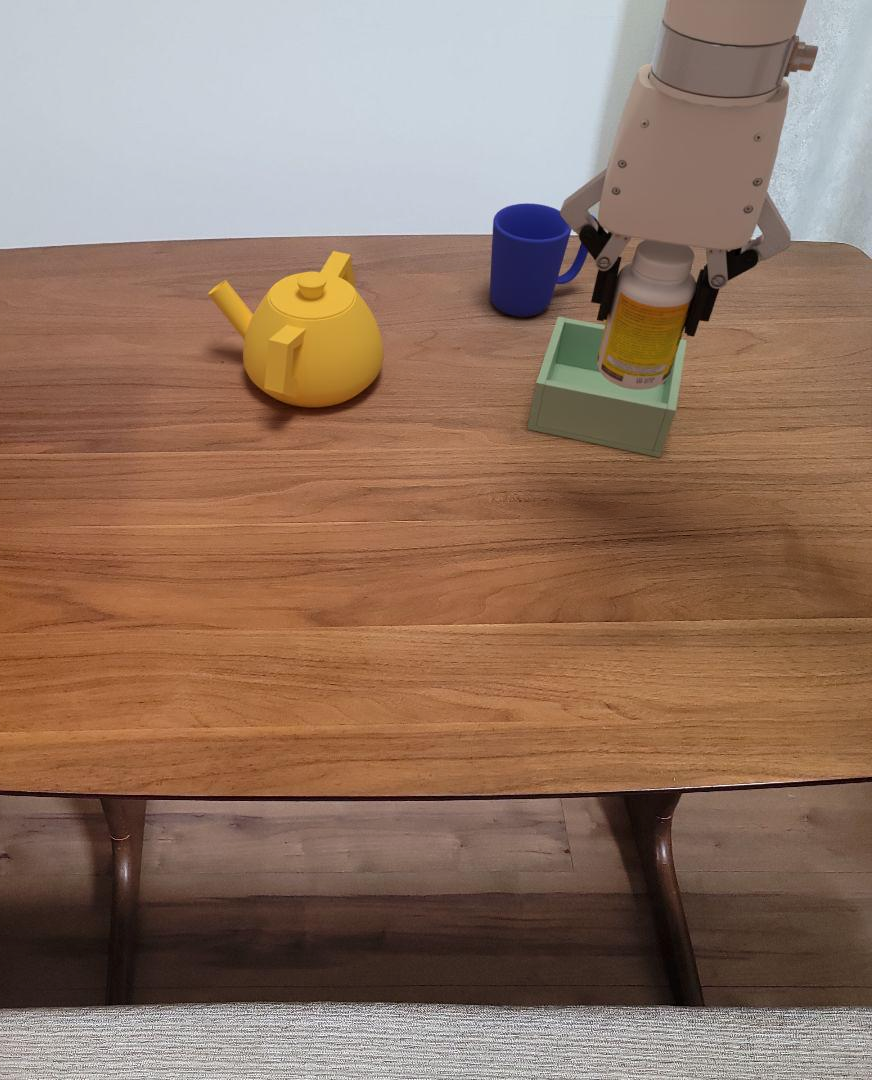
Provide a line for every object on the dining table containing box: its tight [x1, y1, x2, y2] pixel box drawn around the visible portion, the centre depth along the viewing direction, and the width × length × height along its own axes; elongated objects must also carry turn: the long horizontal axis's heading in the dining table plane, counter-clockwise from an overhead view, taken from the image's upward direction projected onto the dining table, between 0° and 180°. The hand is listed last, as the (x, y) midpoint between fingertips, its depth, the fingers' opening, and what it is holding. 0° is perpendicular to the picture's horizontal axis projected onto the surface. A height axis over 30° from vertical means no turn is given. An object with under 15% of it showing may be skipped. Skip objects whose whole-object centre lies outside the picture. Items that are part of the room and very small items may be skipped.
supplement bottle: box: [597, 239, 697, 390], centre depth 68 cm, size 6×6×10 cm
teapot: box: [207, 250, 384, 408], centre depth 92 cm, size 20×18×11 cm
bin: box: [526, 316, 688, 458], centre depth 90 cm, size 13×12×6 cm
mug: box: [489, 203, 598, 318], centre depth 102 cm, size 8×12×10 cm
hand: (646, 316), depth 68 cm, fingers closed on supplement bottle, 5 cm apart
